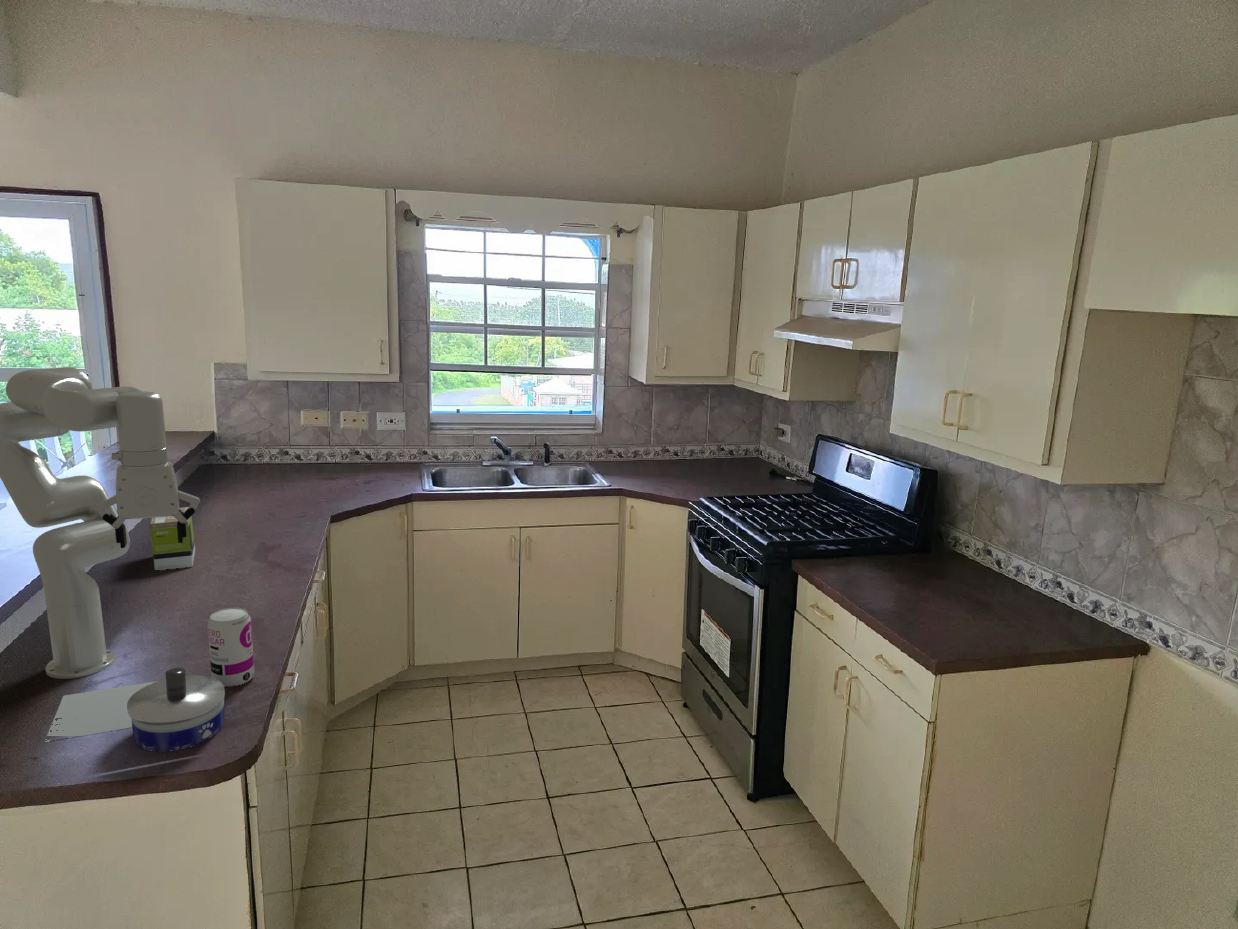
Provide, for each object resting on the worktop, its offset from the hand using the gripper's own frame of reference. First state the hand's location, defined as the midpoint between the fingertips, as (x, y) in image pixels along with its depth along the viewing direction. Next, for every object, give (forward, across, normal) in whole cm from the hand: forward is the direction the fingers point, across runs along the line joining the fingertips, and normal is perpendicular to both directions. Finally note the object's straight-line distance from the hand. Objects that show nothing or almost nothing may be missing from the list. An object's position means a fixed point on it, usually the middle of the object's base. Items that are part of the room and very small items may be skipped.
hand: (152, 543), depth 153 cm
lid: (+27, +3, -14) cm, 30 cm away
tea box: (+34, -4, +88) cm, 94 cm away
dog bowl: (+33, +3, -14) cm, 36 cm away
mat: (+33, -10, -1) cm, 35 cm away
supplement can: (+33, +12, +4) cm, 36 cm away
